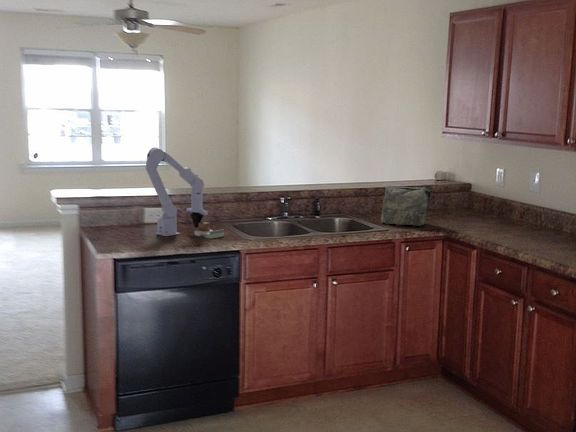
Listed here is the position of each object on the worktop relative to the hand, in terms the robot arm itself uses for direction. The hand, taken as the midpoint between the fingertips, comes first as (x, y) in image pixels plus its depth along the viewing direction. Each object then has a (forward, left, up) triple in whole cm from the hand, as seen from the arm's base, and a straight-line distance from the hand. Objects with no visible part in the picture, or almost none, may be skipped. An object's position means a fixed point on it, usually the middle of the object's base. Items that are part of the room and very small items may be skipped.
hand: (196, 227), depth 342 cm
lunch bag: (+108, -56, -3) cm, 122 cm away
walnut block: (0, -6, -1) cm, 6 cm away
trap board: (0, -9, -3) cm, 10 cm away
